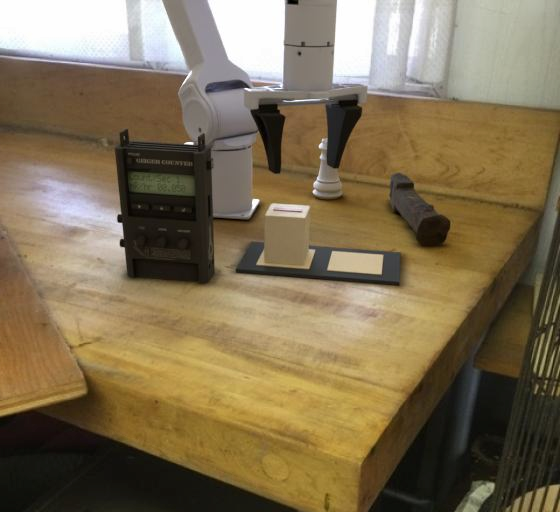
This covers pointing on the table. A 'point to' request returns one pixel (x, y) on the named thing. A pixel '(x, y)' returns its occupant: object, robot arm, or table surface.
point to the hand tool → (417, 212)
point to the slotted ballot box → (286, 234)
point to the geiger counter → (166, 209)
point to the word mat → (329, 265)
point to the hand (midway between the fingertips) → (304, 169)
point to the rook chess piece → (327, 178)
